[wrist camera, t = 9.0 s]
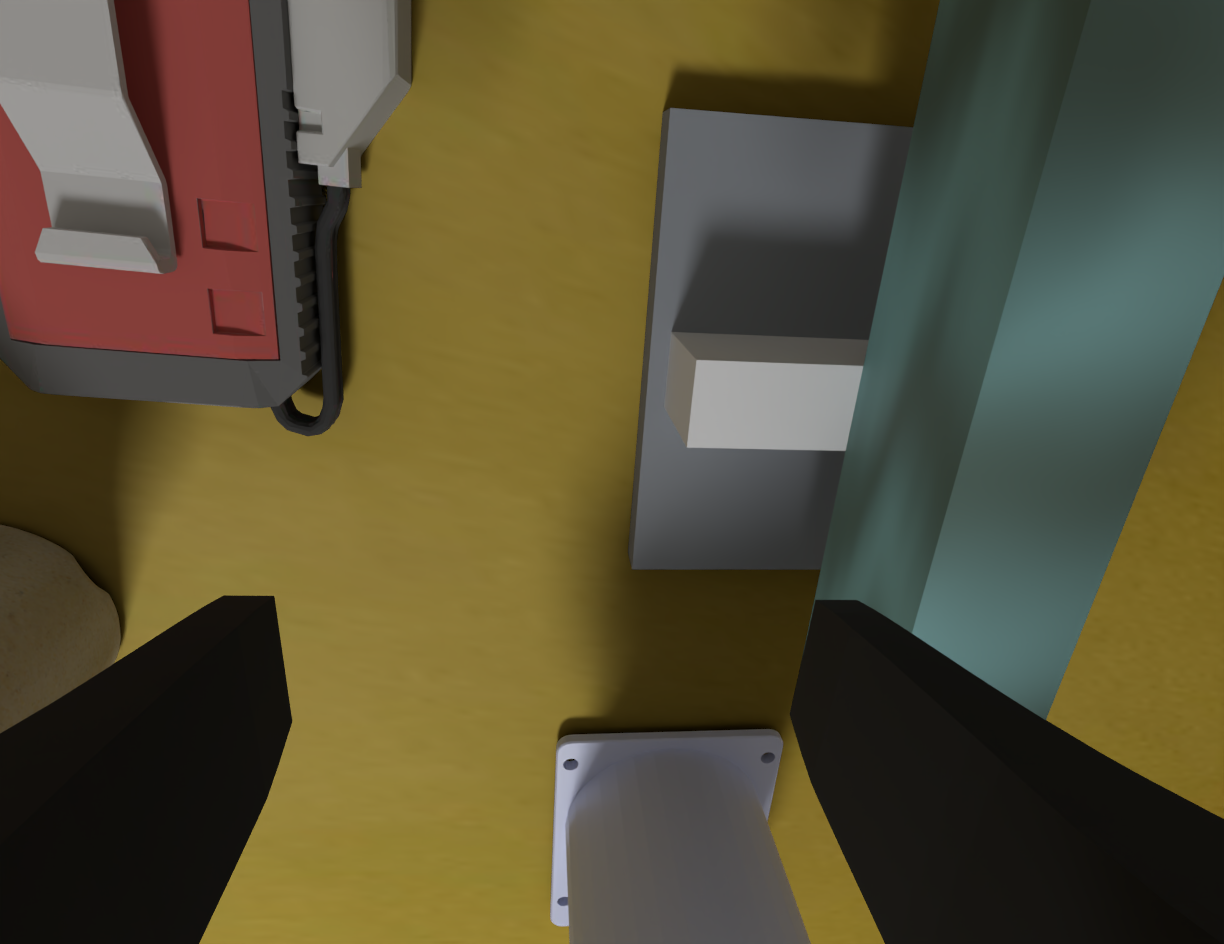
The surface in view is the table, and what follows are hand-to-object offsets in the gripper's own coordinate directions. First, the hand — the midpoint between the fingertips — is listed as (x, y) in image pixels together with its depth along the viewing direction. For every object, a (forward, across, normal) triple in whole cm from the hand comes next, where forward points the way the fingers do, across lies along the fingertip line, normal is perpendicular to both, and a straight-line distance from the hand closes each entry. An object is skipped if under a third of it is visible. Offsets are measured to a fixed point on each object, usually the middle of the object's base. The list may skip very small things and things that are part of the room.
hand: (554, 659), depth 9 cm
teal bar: (+6, -8, -2) cm, 11 cm away
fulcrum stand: (+10, -8, -2) cm, 14 cm away
